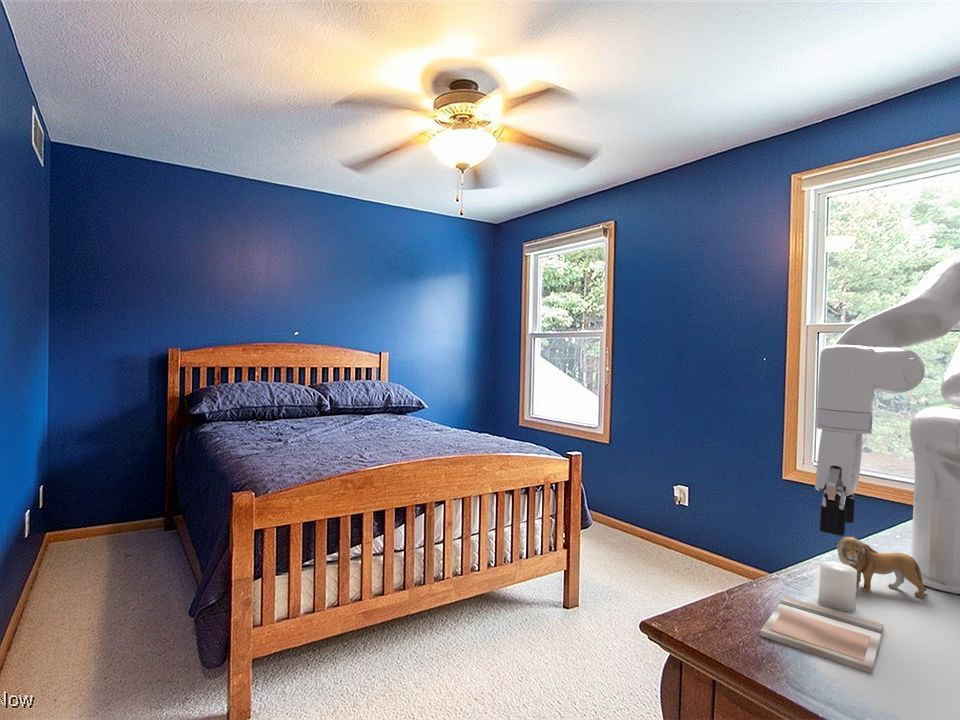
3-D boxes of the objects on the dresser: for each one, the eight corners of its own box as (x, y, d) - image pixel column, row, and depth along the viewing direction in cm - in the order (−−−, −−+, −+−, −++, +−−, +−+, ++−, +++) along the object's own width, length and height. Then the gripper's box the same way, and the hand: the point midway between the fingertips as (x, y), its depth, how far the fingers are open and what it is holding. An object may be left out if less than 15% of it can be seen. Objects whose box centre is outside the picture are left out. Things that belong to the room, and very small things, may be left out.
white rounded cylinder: (821, 594, 91) (823, 559, 91) (857, 603, 88) (858, 567, 88) (816, 604, 88) (817, 567, 88) (853, 614, 84) (854, 576, 84)
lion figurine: (846, 594, 92) (848, 542, 91) (828, 581, 97) (830, 531, 97) (937, 599, 90) (940, 546, 90) (914, 586, 96) (916, 535, 96)
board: (784, 600, 88) (785, 595, 88) (883, 629, 80) (883, 623, 80) (760, 635, 77) (760, 629, 77) (871, 673, 69) (872, 666, 69)
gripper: (825, 416, 96) (819, 511, 96) (806, 421, 83) (799, 532, 83) (877, 421, 91) (871, 522, 91) (865, 428, 78) (858, 545, 78)
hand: (837, 526), depth 87 cm, fingers open, 9 cm apart
